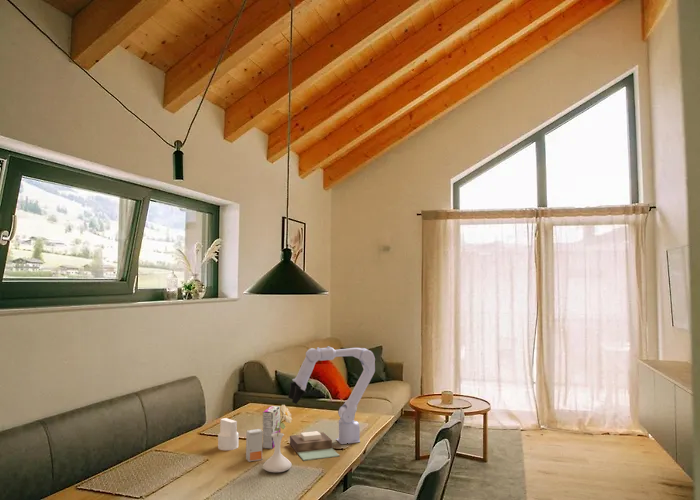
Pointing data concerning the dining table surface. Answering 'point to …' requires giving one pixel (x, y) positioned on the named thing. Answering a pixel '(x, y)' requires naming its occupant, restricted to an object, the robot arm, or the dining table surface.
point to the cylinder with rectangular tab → (228, 435)
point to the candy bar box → (270, 425)
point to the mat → (318, 454)
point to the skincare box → (254, 444)
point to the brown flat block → (310, 443)
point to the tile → (310, 435)
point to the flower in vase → (277, 459)
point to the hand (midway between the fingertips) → (292, 400)
